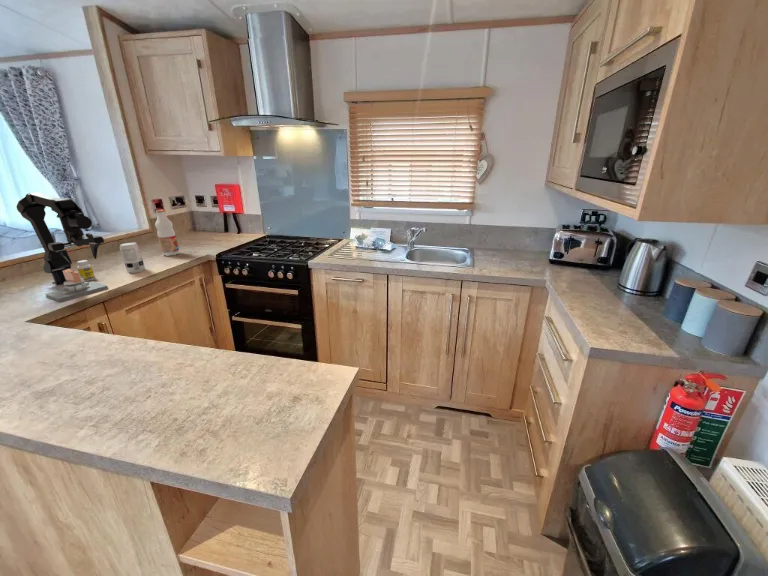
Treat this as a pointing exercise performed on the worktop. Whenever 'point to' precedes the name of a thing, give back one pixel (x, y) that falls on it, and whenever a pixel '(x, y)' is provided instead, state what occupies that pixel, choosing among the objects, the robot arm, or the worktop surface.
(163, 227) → the fruit juice
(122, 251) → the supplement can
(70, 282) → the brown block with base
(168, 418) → the worktop surface
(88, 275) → the supplement bottle
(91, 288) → the post plate
